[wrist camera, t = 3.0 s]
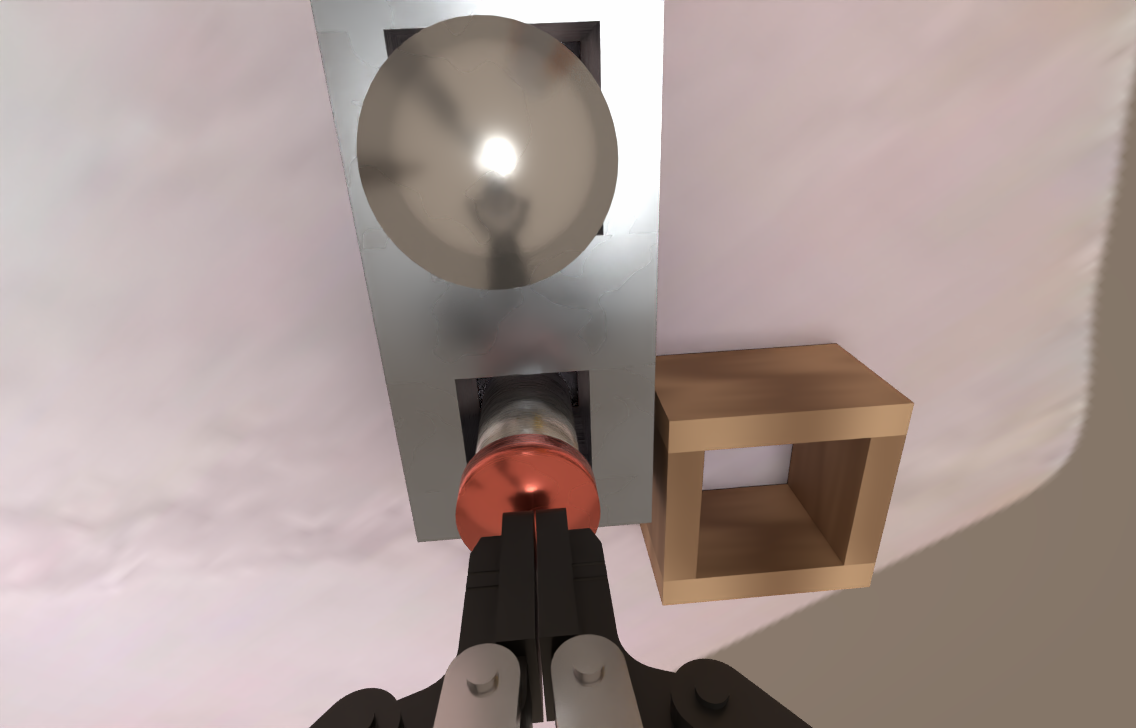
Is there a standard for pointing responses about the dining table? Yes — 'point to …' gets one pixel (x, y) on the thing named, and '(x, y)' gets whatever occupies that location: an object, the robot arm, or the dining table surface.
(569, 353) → the socket block
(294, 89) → the dining table surface
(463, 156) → the gray round-topped cylinder
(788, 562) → the wooden hollow square frame
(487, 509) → the copper-capped cylinder
